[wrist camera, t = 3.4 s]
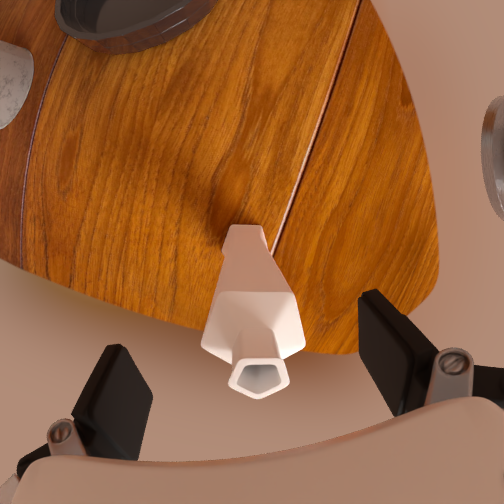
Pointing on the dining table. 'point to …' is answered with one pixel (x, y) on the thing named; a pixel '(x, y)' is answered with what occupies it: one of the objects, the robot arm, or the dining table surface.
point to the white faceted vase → (253, 315)
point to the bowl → (128, 22)
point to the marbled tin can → (14, 80)
